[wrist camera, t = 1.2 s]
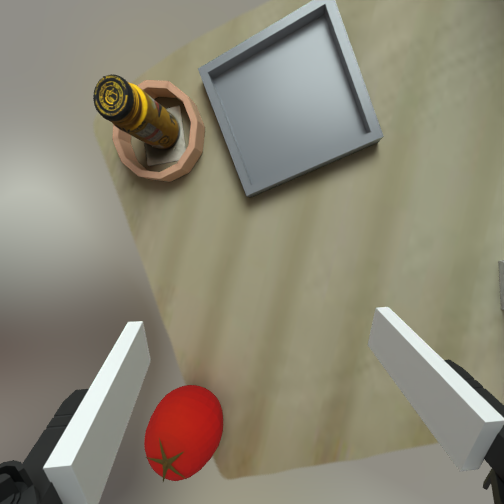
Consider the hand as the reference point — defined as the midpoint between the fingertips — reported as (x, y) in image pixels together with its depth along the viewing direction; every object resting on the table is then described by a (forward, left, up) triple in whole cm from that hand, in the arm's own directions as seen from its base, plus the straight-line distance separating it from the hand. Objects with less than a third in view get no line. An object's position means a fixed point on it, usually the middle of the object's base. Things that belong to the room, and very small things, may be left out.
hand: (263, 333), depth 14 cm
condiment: (+12, -27, -27) cm, 40 cm away
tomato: (+24, +19, -27) cm, 41 cm away
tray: (-8, -22, -26) cm, 35 cm away
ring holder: (+12, -27, -26) cm, 40 cm away
